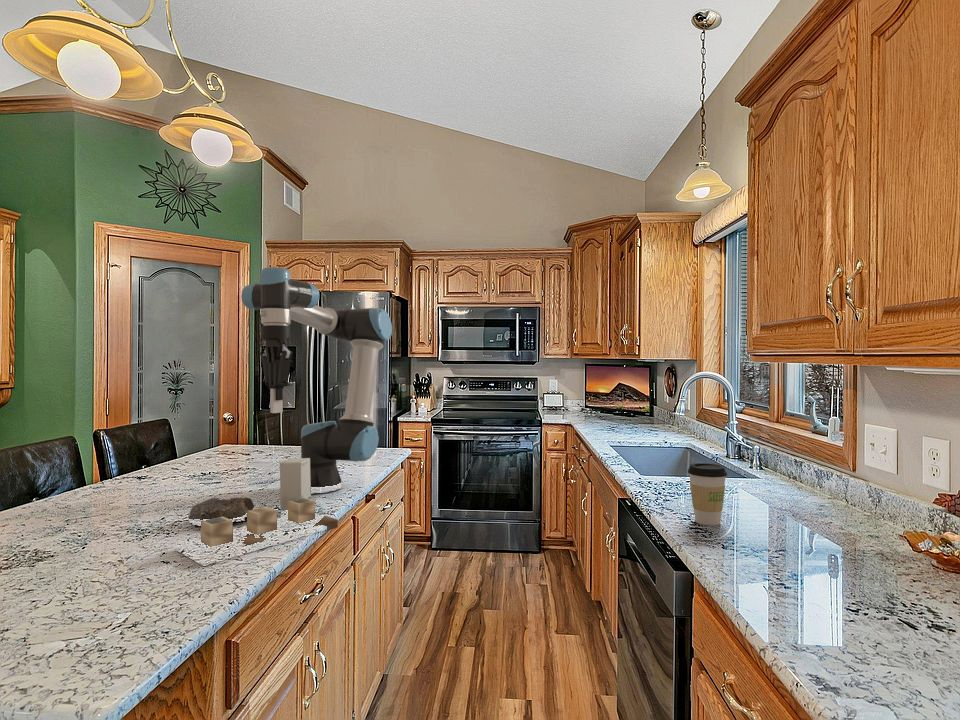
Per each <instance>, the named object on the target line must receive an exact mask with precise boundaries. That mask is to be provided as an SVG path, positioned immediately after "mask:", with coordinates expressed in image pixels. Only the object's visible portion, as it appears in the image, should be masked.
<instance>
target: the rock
mask: <svg viewBox="0 0 960 720" xmlns="http://www.w3.org/2000/svg"><path fill="white" fill-rule="evenodd" d="M253 508H254V509H255V505H254V502H253V499H251V498H250V497H249V498H248V497H241V496H240V497H235V498H234V497H232V498H230V499H223V498H222V499H220V498H213V497H212V498H210V499H206V500H204V501H202V502H200V503H196V504H195V505H193V506H192V507H191V509H190V511H189V514H188V517H187V518H188V520H189V519H193V520H194V519H200V520H203V519H214V518H219V517H225V518H228V519H233V518H237V517H241V516H243V515H245V514H246V513H247V511H249V510H253Z"/></svg>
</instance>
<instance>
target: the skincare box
mask: <svg viewBox="0 0 960 720" xmlns="http://www.w3.org/2000/svg"><path fill="white" fill-rule="evenodd" d="M279 483H280V484H279V485H280V486H279V488H280V490H279V491H280V492H279V493H280V494H279V495H280V496H279V497H280V511H281V510H288V501H292V500H296V499H301V498H308V499H312V496H311V495H312V494H311V482H310V458H301V457H300V458H289V459H286V460H282V461H281V462H279Z"/></svg>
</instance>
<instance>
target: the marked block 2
mask: <svg viewBox="0 0 960 720" xmlns="http://www.w3.org/2000/svg"><path fill="white" fill-rule="evenodd" d="M315 513H316V500H314V499H312V498H311V499H308V498H301V499H296V500H292V501H288V520H290V521H293V522H296V523H298V524H299V523H303V522H306V521H310V520H313V519H315Z"/></svg>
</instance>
